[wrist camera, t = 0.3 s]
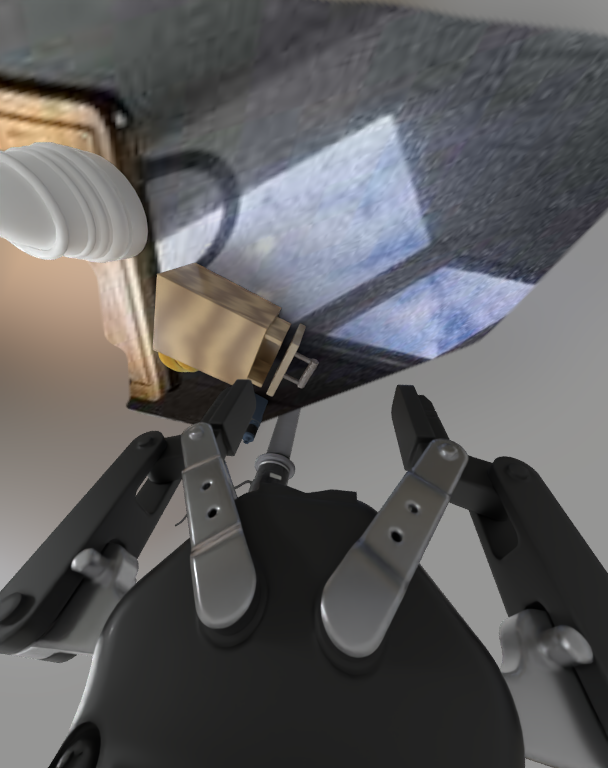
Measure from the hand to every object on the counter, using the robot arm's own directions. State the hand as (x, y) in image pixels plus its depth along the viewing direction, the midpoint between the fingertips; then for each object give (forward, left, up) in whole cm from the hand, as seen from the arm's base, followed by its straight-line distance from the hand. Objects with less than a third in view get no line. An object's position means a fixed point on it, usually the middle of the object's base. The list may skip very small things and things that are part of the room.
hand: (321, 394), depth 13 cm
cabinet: (-14, +14, -29) cm, 35 cm away
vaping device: (-30, +3, -29) cm, 42 cm away
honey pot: (-7, +36, -29) cm, 47 cm away
